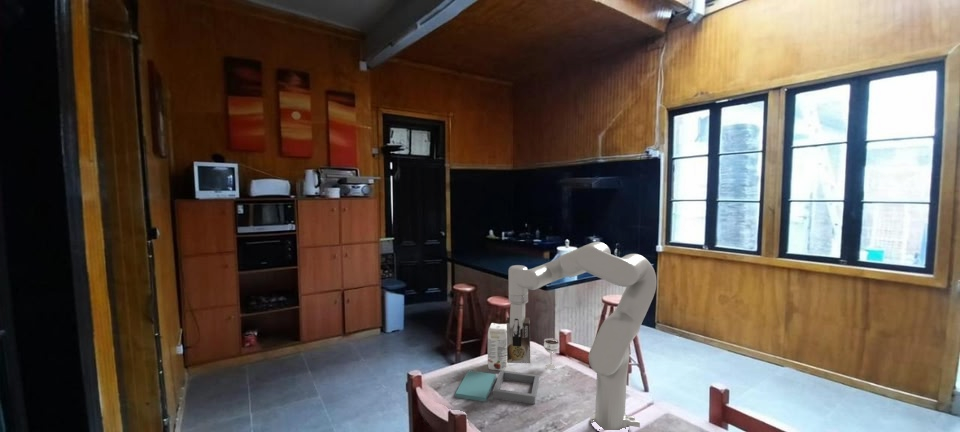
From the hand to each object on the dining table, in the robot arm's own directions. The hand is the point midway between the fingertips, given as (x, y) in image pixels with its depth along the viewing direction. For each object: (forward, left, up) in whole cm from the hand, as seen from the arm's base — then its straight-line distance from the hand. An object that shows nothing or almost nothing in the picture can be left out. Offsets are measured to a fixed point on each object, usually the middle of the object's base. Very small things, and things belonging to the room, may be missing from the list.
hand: (518, 341), depth 150 cm
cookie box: (0, 0, -8) cm, 8 cm away
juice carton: (+11, -16, -20) cm, 28 cm away
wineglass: (-12, -22, -20) cm, 32 cm away
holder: (0, 0, -20) cm, 20 cm away
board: (+16, +2, -20) cm, 26 cm away
